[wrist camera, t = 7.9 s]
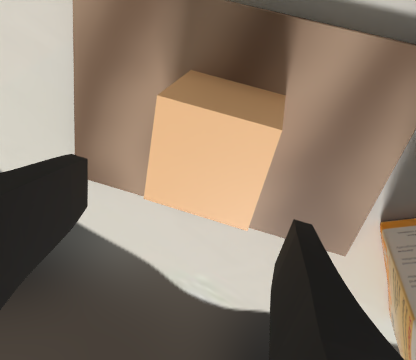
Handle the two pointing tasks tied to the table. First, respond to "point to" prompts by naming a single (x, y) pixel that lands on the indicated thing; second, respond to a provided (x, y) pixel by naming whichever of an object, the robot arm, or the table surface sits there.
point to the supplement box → (401, 281)
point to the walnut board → (256, 77)
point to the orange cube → (213, 147)
